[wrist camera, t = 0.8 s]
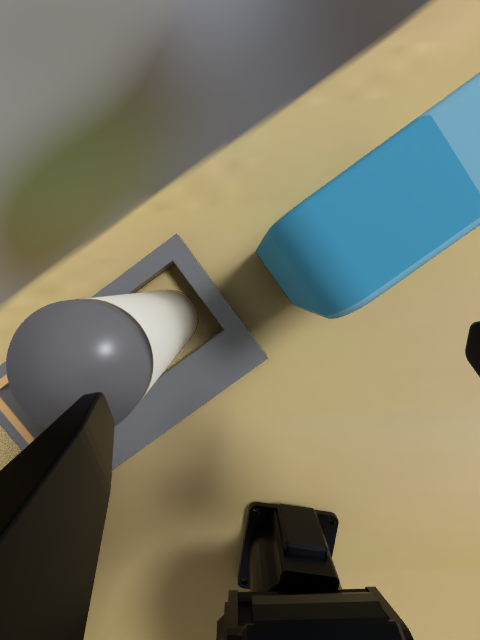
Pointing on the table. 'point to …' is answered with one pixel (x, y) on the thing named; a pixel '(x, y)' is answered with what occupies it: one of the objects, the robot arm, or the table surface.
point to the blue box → (383, 212)
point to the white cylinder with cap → (97, 351)
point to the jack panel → (176, 382)
